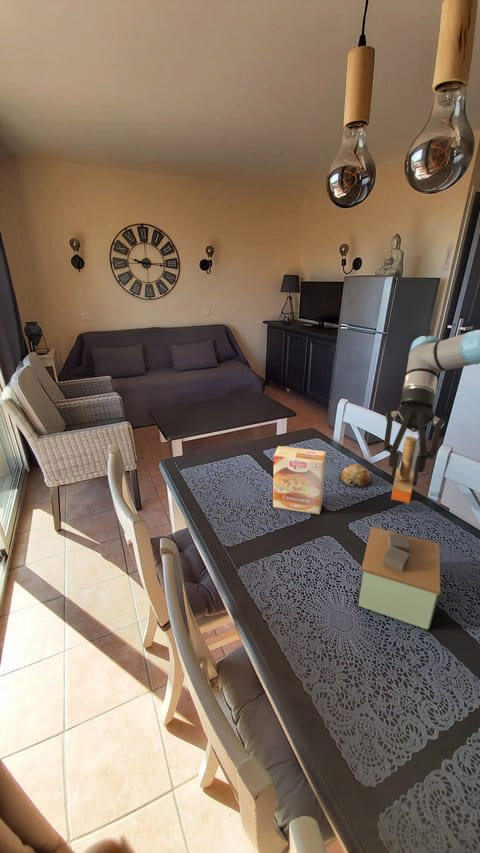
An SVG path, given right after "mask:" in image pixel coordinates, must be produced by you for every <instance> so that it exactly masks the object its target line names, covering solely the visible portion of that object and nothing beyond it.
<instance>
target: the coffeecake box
mask: <svg viewBox="0 0 480 853" xmlns="http://www.w3.org/2000/svg"><path fill="white" fill-rule="evenodd" d="M326 459H327V451H326V450H317V449H309V448H301V447H290V446H281V445H278V446H277V448H276V450H275V452H274V454H273V486H272V488H273V489H272V490H273V493H272V494H273V495H272V497H273V498H272V499H273V500H272V507H273V508H276V509H281V510H286V511H287V510H288V511H295V512H301V513H307V514H315V515H320V514H321V510H322V505H323V496H324V484H325V470H326Z"/></svg>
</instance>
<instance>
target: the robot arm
mask: <svg viewBox="0 0 480 853" xmlns="http://www.w3.org/2000/svg"><path fill="white" fill-rule="evenodd" d="M407 359H408V360H407V366H406V372H405V376H404V381H403V386H402V393H401V398H400V403H399V407H398V408H397V409H396V410H394V411H390V410H387V411H386V412H385V419H386V427H385V433H384V435H385V436H384V441H383V451H384V452H388V453H389V459H388V467H391V468H392V470H391V476H390V481H391V482H393V483H394V480H395V475H396V470H397V467H398V463H399V458H400V457H399V456H400V452H398V450H399V448H400V445H401V443H402V441H403V439H404V436H405V434H406V432H407V430H408V429H415V430H417V436H418V446H419V447H418V448H419V455H416V456H417V457H416V461H415V466H414V476H413V484H412V487H413V486H414V487H416V486H417V484H418V478H419V473H424V471H425V469H426V462H427V460H430V459H431V460H434V459H435V457H436V455H437V450H438V446H439V441H440V435H441V429H443V427H444V425H445V422H446V418H444V417H438V416H437V415H435V412H434V405H435V401H436V400H435V399H436V396H435V395H436V392H437V387H438V378H439V373H440V372H447V371H450V370H454V369H460V368H463V367H468V366H473V365H480V329H474V330H471V331H468V332H466V333H462V334H459V335H456V336H453V337H450V338H447V339H443V340H442V339H441V338H439V337H437V336H435V335H428V336H427V335H422V336H419V337H417V338H415V339H414V340H413V341H412V343H411V345H410V349H409V352H408V358H407ZM396 417H397V418H398V419H399V421H400V423H401V424H400V427H399V430H398V432H397V434H396V437H395V439H394V441H393V444H392V445H391V437H392V429H393V421H395V420H396ZM431 422H433V423H432V427H434V429H433V434H432V438H431V444H430V449H429V451H428V450H427V438H426V426H427V425H429V424H430V423H431Z"/></svg>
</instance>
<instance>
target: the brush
mask: <svg viewBox="0 0 480 853" xmlns="http://www.w3.org/2000/svg"><path fill="white" fill-rule="evenodd" d="M416 445H417V438H416V437H414V436H406V437H405V438H404V443H403V449H402V456H401V462H400V467H399V466H397V469H396V475H395V480H394V482H393V485H392V490H391V491H392V492H391V497H390V499H391V500H393V501H397V502H402V503H406V504H410V502H411V497H412V491H413V485H412V484H413V478H414V472H415V469H412V467H413V461H414V457H415V455H414V454H415V451H416Z"/></svg>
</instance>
